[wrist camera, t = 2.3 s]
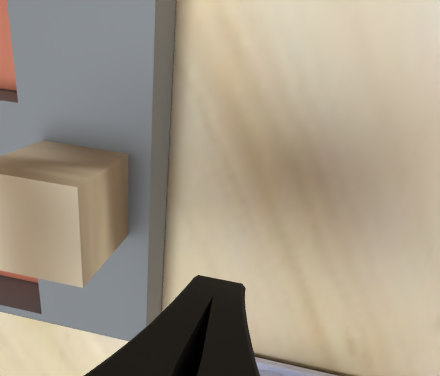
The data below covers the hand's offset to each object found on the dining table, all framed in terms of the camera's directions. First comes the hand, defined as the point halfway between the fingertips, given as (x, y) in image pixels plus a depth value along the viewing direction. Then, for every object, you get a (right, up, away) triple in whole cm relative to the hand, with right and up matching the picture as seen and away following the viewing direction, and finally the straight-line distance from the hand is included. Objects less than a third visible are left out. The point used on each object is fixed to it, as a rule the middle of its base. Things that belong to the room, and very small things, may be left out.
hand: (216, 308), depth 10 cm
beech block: (-6, +3, +6) cm, 9 cm away
